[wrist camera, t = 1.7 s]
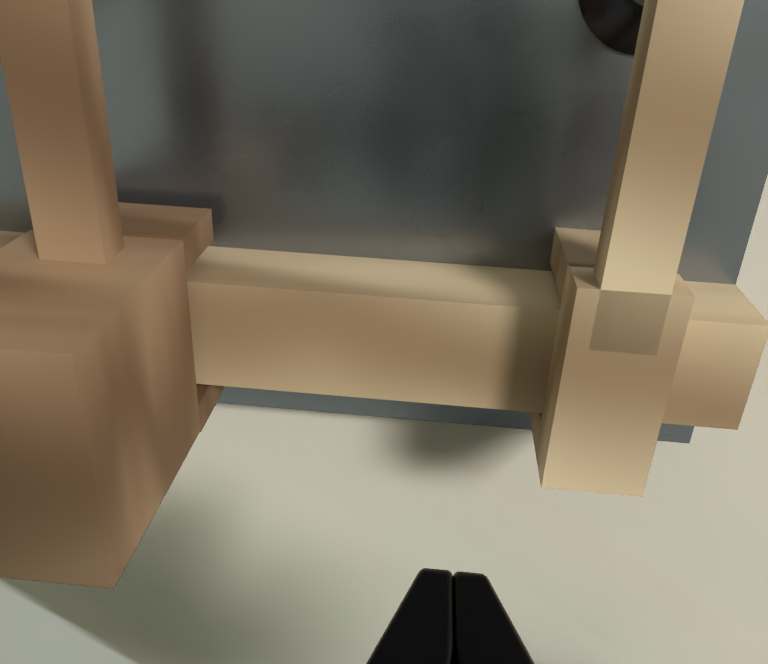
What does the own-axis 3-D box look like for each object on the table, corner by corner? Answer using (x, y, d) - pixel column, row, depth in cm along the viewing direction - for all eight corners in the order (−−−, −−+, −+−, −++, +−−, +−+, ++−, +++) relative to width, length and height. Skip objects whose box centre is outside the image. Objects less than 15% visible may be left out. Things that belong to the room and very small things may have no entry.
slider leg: (225, 385, 18) (114, 590, 12) (106, 375, 18) (-61, 572, 12) (191, -120, 13) (-26, -185, 7) (26, -127, 13) (-314, -195, 7)
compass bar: (697, 415, 17) (744, 505, 14) (-181, 341, 18) (-297, 410, 16) (844, -90, 12) (959, -105, 10) (-356, -142, 14) (-568, -168, 11)
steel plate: (678, 419, 18) (690, 444, 17) (-143, 350, 20) (-174, 370, 19) (919, -451, 11) (962, -489, 10) (-419, -468, 12) (-491, -504, 11)
